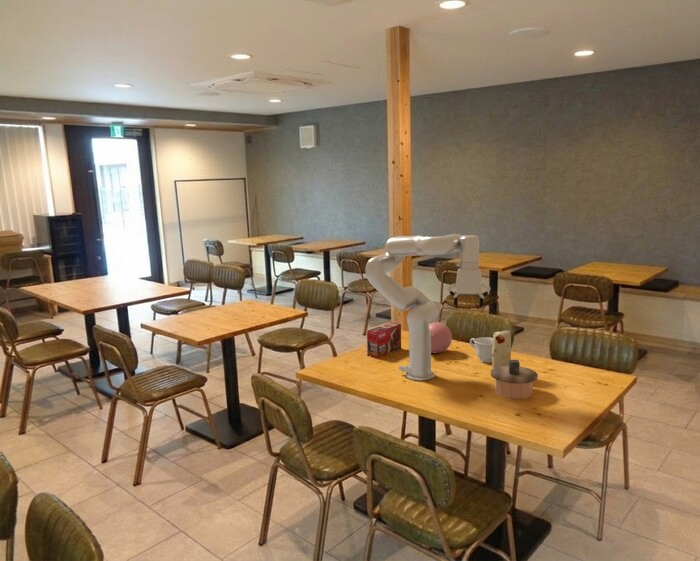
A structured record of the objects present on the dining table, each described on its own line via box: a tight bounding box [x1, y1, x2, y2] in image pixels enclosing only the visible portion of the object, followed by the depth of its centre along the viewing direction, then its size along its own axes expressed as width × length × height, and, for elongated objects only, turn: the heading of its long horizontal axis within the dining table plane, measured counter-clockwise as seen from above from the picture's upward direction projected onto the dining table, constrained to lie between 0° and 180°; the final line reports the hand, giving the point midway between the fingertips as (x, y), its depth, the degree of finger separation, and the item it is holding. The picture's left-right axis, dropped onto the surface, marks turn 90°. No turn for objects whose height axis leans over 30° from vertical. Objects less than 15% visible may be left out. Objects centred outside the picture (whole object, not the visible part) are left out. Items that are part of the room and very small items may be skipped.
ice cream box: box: [366, 321, 402, 359], centre depth 274 cm, size 20×6×13 cm, turn 139°
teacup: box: [469, 336, 493, 364], centre depth 258 cm, size 12×15×10 cm
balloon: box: [429, 321, 453, 354], centre depth 271 cm, size 15×20×15 cm
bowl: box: [494, 378, 534, 400], centre depth 218 cm, size 14×14×7 cm
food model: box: [491, 330, 512, 370], centre depth 237 cm, size 10×7×20 cm
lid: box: [490, 359, 539, 383], centre depth 217 cm, size 18×18×6 cm
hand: (468, 307), depth 223 cm, fingers open, 9 cm apart
